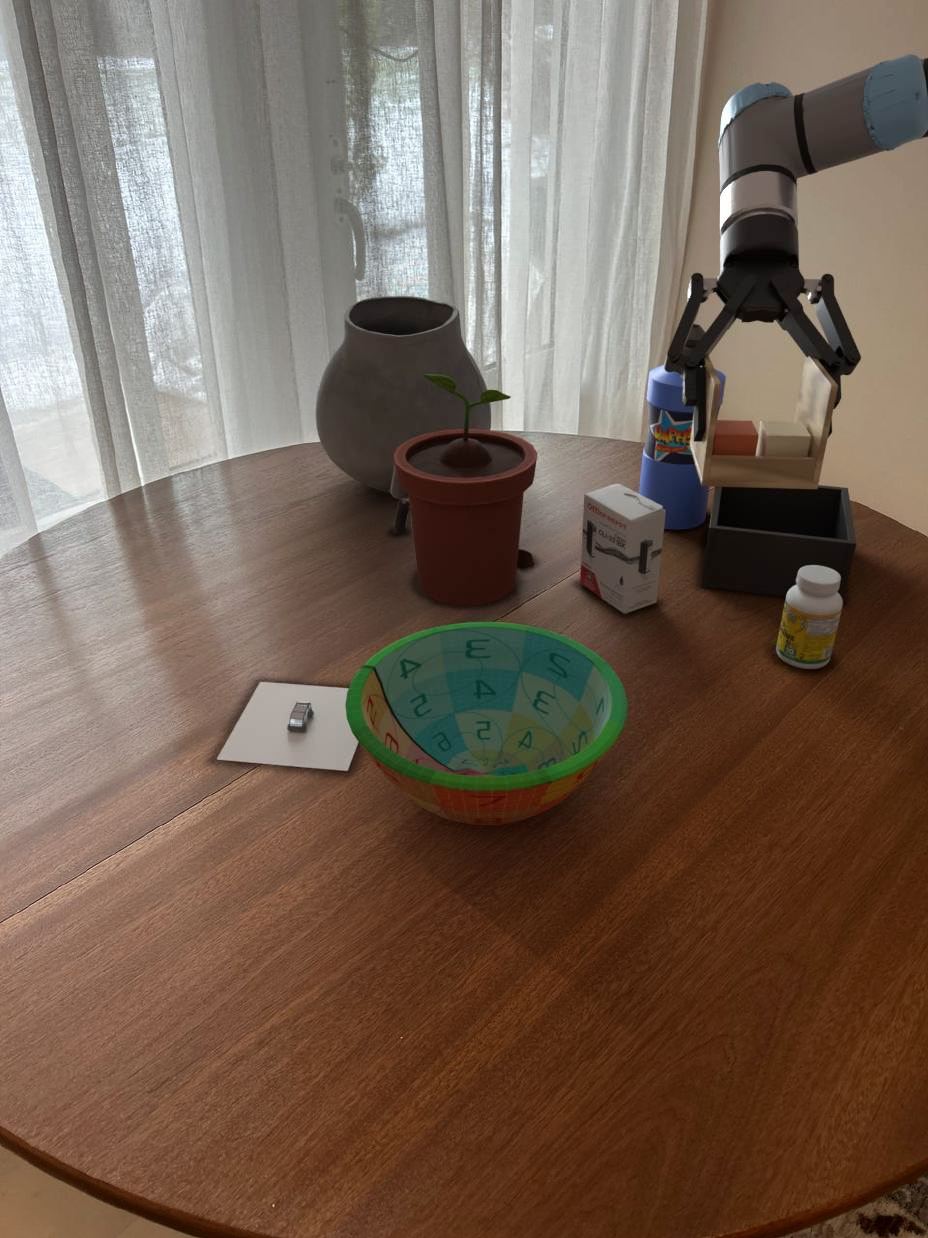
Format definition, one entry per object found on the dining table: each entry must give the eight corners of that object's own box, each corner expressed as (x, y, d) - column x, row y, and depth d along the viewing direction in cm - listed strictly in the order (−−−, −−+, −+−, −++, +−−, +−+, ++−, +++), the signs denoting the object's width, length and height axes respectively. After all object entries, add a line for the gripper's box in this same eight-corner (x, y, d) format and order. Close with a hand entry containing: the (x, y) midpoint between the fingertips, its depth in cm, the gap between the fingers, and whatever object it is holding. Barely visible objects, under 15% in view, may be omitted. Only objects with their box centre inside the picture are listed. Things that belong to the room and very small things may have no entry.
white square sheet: (216, 759, 83) (213, 746, 82) (260, 681, 93) (258, 669, 92) (347, 771, 81) (346, 757, 80) (377, 690, 91) (376, 678, 90)
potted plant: (381, 616, 103) (366, 396, 90) (394, 530, 122) (383, 337, 109) (540, 614, 103) (548, 394, 90) (529, 528, 122) (534, 335, 108)
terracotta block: (705, 457, 93) (710, 419, 91) (746, 458, 93) (752, 420, 91) (710, 473, 90) (715, 434, 88) (752, 474, 89) (758, 434, 87)
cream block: (754, 459, 93) (760, 420, 91) (795, 460, 92) (802, 421, 90) (761, 474, 89) (767, 435, 87) (803, 475, 89) (811, 436, 87)
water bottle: (693, 535, 119) (719, 339, 106) (625, 520, 123) (642, 329, 110) (715, 508, 126) (742, 321, 113) (650, 495, 130) (668, 313, 117)
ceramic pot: (308, 518, 125) (287, 330, 112) (336, 451, 146) (321, 286, 132) (489, 519, 124) (490, 330, 111) (491, 452, 145) (492, 285, 132)
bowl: (657, 756, 82) (668, 663, 77) (545, 933, 66) (550, 830, 61) (443, 684, 92) (440, 596, 87) (299, 822, 76) (286, 725, 70)
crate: (689, 446, 98) (700, 350, 92) (794, 448, 97) (812, 352, 91) (701, 486, 89) (714, 383, 83) (817, 489, 88) (838, 385, 82)
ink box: (577, 583, 109) (582, 490, 103) (610, 572, 111) (617, 481, 105) (624, 615, 103) (633, 518, 97) (658, 603, 105) (669, 507, 99)
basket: (835, 543, 117) (848, 487, 113) (842, 604, 104) (856, 543, 100) (709, 529, 121) (716, 474, 117) (700, 586, 108) (709, 527, 104)
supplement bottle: (836, 670, 93) (857, 587, 88) (783, 671, 93) (800, 588, 88) (819, 641, 98) (838, 561, 93) (768, 641, 98) (784, 561, 93)
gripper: (865, 257, 96) (874, 455, 91) (637, 256, 98) (633, 450, 93) (892, 209, 88) (903, 422, 83) (645, 209, 91) (641, 416, 86)
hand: (761, 437), depth 88 cm, fingers closed on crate, 11 cm apart
